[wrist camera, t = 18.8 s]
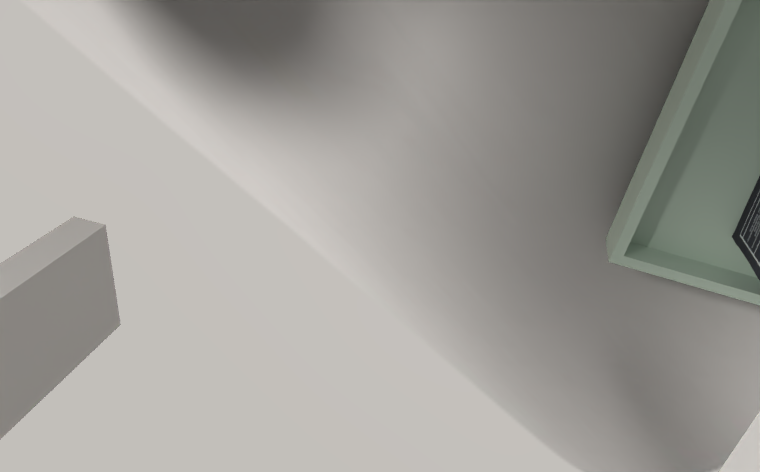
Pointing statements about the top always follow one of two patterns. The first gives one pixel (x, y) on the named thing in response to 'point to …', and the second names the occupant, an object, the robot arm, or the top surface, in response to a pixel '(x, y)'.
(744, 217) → the small box
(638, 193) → the green footed tray
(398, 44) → the top surface
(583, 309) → the top surface
